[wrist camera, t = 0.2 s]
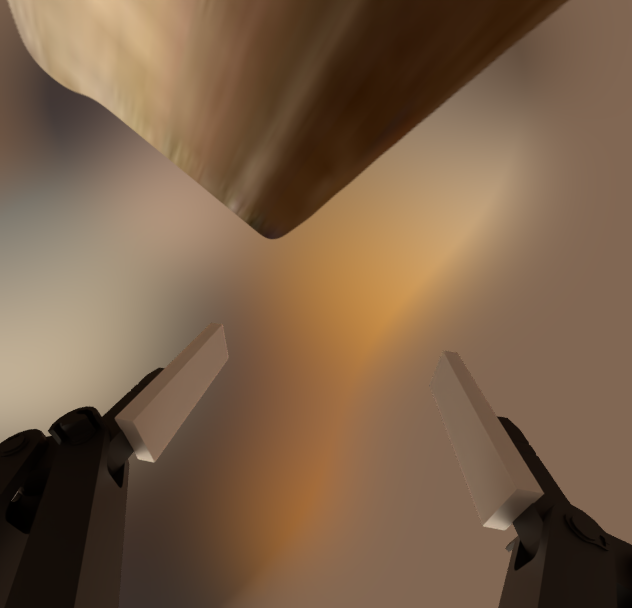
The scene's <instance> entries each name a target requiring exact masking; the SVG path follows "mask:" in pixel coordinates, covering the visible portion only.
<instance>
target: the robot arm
mask: <svg viewBox="0 0 632 608" xmlns="http://www.w3.org/2000/svg"><path fill="white" fill-rule="evenodd" d="M228 358H229V356H228V351H227V345H226V340H225V334H224V328H223V324H217V323H210V325H208V326H207V327H206V328H205V329H204V330H203V331H202V332H201V333H200V334H199V335H198V336H197V337H196V338H195V339H194V340H193V341H192V342H191V343H190V344H189V345H188V346H187V347H186V348H185V349H184V350H183V351H182V352H181V353H180V354H179V355H178V356H177V357H176V358H175V359H174V360H173V361H172V362H171V363H170V364H169V365H168V366H167V367H166V368H158V369H156V370H154V371H153V372H151V373H149V374H148V375H147V376H145V377H144V378H143V379H142V380H141V381H140V382H139V384H138V385H136V386H135V387H134V388H133V389H131V391H130V392H128V393H127V394H126V395H125V396H124V397H123V398H122V399H121V400H120V401H119V402H118V403H116V404H115V405H114V406H113V407H112V408H111V409H110V410H109V411H108V412H107V413H106V414H105V415H104V416H103V417H101V415H100V413H99V412H98V410H97V409H96V408H94V407H82V408H78V409H75V410H73V411H71V412H68V413H67V414H65V415H64V416H62V417H60V418H59V419H58V420H57V421H56V422H54V423H53V424H52V426H51V427H50V429H49V430H48V432H49V433H50V434H51V435H52V436H48V437H46V436H45V435H44V434H43V433H42V431H40V430H37V429H31V430H26V431H23V432H20V433H17V434H15V435H13V436H11V437H9V438H8V439H6V440H4V441H3V442H1V443H0V608H118V606H119V591H120V578H121V565H122V553H123V540H124V527H125V513H126V500H127V487H128V473H129V461H128V458H129V457H130V455H131V454H132V453H133V452H134V453H135V454H136V456H137V458H138V459H140V460H145V461H150V462H155V461H156V460H157V458H158V457H159V456H160V454H161V453H162V451H163V449H164V448H165V447H166V446H167V444H168V443H169V442H170V440H171V439H172V437H173V436H174V435H175V433H176V432H177V430H178V429H179V427H180V426H181V425H182V423H183V422H184V420H185V419H186V418H187V416H188V415H189V413H190V412H191V411H192V409H193V408H194V406H195V405H196V404H197V402H198V401H199V399H200V398H201V396H202V395H203V393H204V392H205V391H206V389H207V388H208V387H209V385H210V384H211V382H212V381H213V380H214V378H215V377H216V375H217V374H218V373H219V371H220V370H221V368H222V367H223V366H224V364H225V363H226V361H227V360H228ZM429 386H430V388H431V391H432V394H433V397H434V399H435V402H436V404H437V407H438V410H439V412H440V415H441V418H442V420H443V423H444V426H445V428H446V431H447V434H448V436H449V438H450V442H451V444H452V447H453V449H454V452H455V454H456V457H457V460H458V462H459V465H460V468H461V471H462V473H463V476H464V478H465V481H466V484H467V487H468V489H469V492H470V494H471V497H472V500H473V502H474V505H475V508H476V510H477V513H478V515H479V518H480V521H481V523H482V526H485V527H490V528H496V529H501V530H506V529H507V528H508V527H509V526H510V525H511V524H512V523H513V525H514V527H515V529H516V531H517V534H518V536H517V537H516V538H515V539H514V540H513V541H511V542H510V543H509V544H508V545H507V547H506V550H508V551H511V550H512V549H513V550H512V555H511V559H510V563H509V567H508V571H507V575H506V579H505V583H504V587H503V591H502V595H501V599H500V603H499V607H498V608H632V545H631V544H629V543H627V542H625V541H622V540H620V539H618V538H616V537H614V536H612V535H610V534H608V533H606V532H605V531H604V530H603V529H602V528H601V527H600V526H599V525H598V524H597V523H596V522H595V521H594V520H593V519H592V518H591V517H590V516H588V515H587V514H586V513H585V512H583V511H582V510H580V509H578V508H576V507H575V506H573V505H571V504H570V502H569V501H568V500H567V498H566V497H565V495H564V494H563V493H562V491H561V490H560V488H559V487H558V485H557V484H556V482H555V481H554V479H553V478H552V476H551V475H550V473H549V472H548V470H547V469H546V468H545V466H544V465H543V463H542V462H541V460H540V459H539V457H538V456H536V453H535V451H534V450H533V448H532V447H531V446H530V445H529V442H528V441H527V440H526V438H525V437H524V435H523V433H522V432H521V431H520V429H519V428H518V427H516V426H515V425H514V424H513V423H512V422H511V421H510V420H509V419H508V418H504V417H497V416H496V414H495V413H494V411H493V410H492V408H491V406H490V405H489V403H488V402H487V400H486V399H485V397H484V395H483V393H482V392H481V390H480V389H479V387H478V386H477V384H476V382H475V380H474V379H473V377H472V376H471V374H470V372H469V371H468V369H467V368H466V366H465V364H464V363H463V361H462V359H461V358H460V356H459V354H458V353H457V352H449V351H443V352H442V355H441V357H440V360H439V362H438V365H437V367H436V370H435V372H434V375H433V378H432V380H431V382H430V385H429ZM17 491H18V493H17ZM16 493H17V495H16V496H15V494H16ZM14 496H15V497H14ZM13 497H14V499H13ZM12 499H13V500H12ZM11 500H12V501H11Z"/></svg>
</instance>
